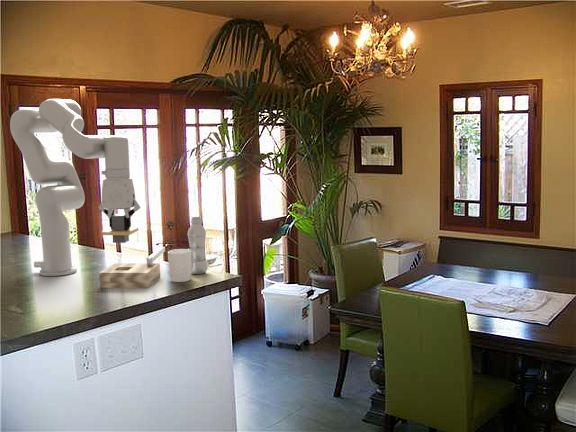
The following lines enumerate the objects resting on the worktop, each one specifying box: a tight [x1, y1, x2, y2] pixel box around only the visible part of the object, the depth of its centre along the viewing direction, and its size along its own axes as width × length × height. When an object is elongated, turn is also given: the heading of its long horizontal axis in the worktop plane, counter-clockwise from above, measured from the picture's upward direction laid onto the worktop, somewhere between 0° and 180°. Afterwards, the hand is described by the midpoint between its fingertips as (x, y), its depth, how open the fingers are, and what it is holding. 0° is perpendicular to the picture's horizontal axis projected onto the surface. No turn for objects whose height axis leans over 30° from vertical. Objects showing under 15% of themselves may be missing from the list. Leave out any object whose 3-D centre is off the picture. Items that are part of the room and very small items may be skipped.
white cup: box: [167, 248, 192, 283], centre depth 209 cm, size 8×8×10 cm
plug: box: [101, 213, 139, 244], centre depth 204 cm, size 9×9×9 cm
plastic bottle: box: [187, 216, 209, 275], centre depth 217 cm, size 6×7×20 cm
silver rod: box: [146, 246, 166, 266], centre depth 218 cm, size 21×2×3 cm, turn 179°
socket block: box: [98, 262, 161, 289], centre depth 207 cm, size 16×14×5 cm
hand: (120, 228), depth 204 cm, fingers closed on plug, 4 cm apart
